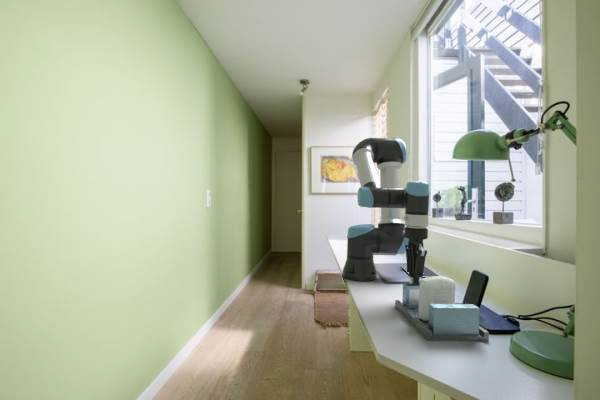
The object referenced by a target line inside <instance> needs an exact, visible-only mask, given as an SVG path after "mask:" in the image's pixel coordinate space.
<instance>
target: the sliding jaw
mask: <svg viewBox="0 0 600 400" xmlns="http://www.w3.org/2000/svg"><path fill="white" fill-rule="evenodd" d="M419 287H420V283H419V284H412V283H410V282H409V283H407V282H406V283H402V299H401V300H402V302H401V303H402V304H403V305H404V306H405V307H406V308H419Z"/></svg>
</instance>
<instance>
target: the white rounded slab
mask: <svg viewBox="0 0 600 400" xmlns="http://www.w3.org/2000/svg"><path fill="white" fill-rule="evenodd" d="M419 284H420V287H419V310H418V315H419V318H420V319H421V320H424V321H425V320H427V321H428V320H429V304H456V303H455V302H456V283H455V281H454V280H453V279H452V278H449V277H447V276H440V275H439V276H432V277H427V278H421V280H419Z"/></svg>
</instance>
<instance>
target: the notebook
mask: <svg viewBox="0 0 600 400" xmlns="http://www.w3.org/2000/svg"><path fill="white" fill-rule="evenodd" d="M423 273H424V274H423V276H429V277H432V276H440V275H438V274H437V273H435V272H434V271H432V269H430V268H428V267H427V266H425V265H424V271H423Z"/></svg>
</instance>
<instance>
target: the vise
mask: <svg viewBox="0 0 600 400" xmlns="http://www.w3.org/2000/svg"><path fill="white" fill-rule="evenodd" d="M394 301H395V302H394V307H395V309H397V311H398V312H399V313H400V314H401V315H402V316H403V317H404V318H405V319H406V320H407V321H408V322H409V323H410V324H411V325H412V326H413V327H414V329H416V331H417V332H419V333H420V335H422V337H424V339H426V341H447V342H448V341H450V342H451V341H455V342H456V341H459V342H461V341H469V342H471V341H473V342H474V341H475V342H477V341H478V342H479V341H481V342H482V341H483V342H484V341H485V342H487V341H488V342H489V340H490V339H489V338H490V337H489V335H490V333H489V331H488V330H487V329H485V328H484V327H482V326H481V325H480V311H481V310H480V309H481V308H480V307H479V306H477V305H475V304H473V303H464V304H463V303H455V304H429V320H428V321H427V320H425V321H424V320H421V319H420V318H419V315H418V310H419V308H406V307H405V306H404V305H403V304H402V302H401V301H400V300H399V299H398V300H397V299H396V300H394Z"/></svg>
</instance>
